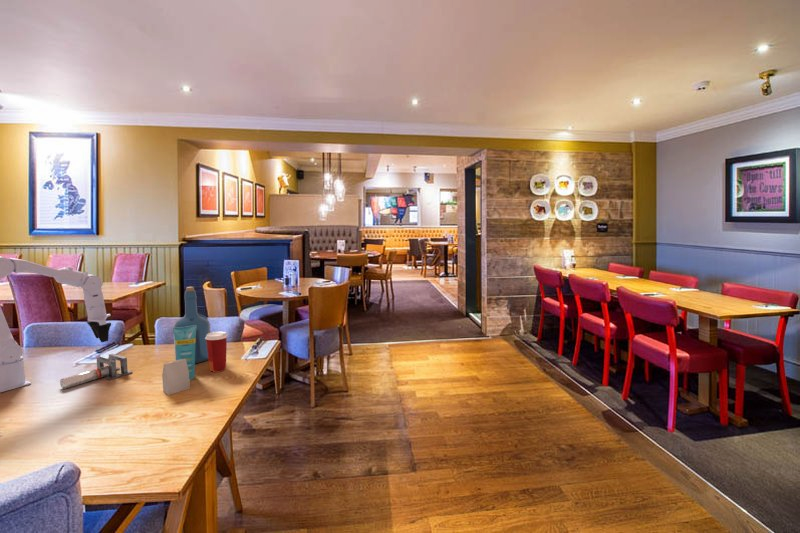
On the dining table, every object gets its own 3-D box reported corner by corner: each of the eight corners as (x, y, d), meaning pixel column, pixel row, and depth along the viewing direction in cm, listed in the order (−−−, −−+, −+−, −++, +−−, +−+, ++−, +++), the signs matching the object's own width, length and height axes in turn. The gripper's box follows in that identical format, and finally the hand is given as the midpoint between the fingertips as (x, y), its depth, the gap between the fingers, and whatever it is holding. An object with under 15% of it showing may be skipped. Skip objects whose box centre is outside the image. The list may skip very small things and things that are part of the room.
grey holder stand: (109, 380, 137) (108, 363, 137) (92, 374, 142) (91, 358, 142) (120, 376, 141) (119, 360, 140) (103, 371, 146) (102, 355, 145)
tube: (176, 382, 136) (173, 329, 134) (175, 378, 140) (172, 326, 138) (199, 378, 140) (197, 326, 138) (198, 374, 144) (195, 323, 142)
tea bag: (189, 388, 131) (188, 359, 130) (167, 395, 126) (166, 365, 125) (184, 385, 134) (183, 357, 133) (163, 392, 128) (161, 362, 127)
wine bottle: (196, 366, 151) (192, 290, 148) (167, 364, 154) (162, 289, 151) (219, 355, 165) (216, 285, 161) (191, 353, 167) (188, 283, 164)
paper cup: (232, 366, 152) (231, 331, 150) (221, 373, 144) (220, 336, 143) (213, 365, 153) (212, 330, 151) (202, 372, 145) (200, 336, 144)
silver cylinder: (65, 390, 129) (65, 380, 129) (60, 387, 131) (59, 377, 130) (112, 375, 142) (111, 366, 141) (107, 373, 143) (106, 364, 143)
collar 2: (121, 376, 141) (120, 359, 140) (105, 371, 146) (103, 355, 145) (132, 373, 144) (131, 356, 144) (115, 368, 149) (114, 352, 148)
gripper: (113, 305, 147) (119, 340, 149) (103, 300, 156) (109, 332, 159) (89, 310, 142) (96, 345, 144) (81, 304, 151) (87, 338, 153)
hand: (102, 339), depth 151 cm, fingers open, 7 cm apart
